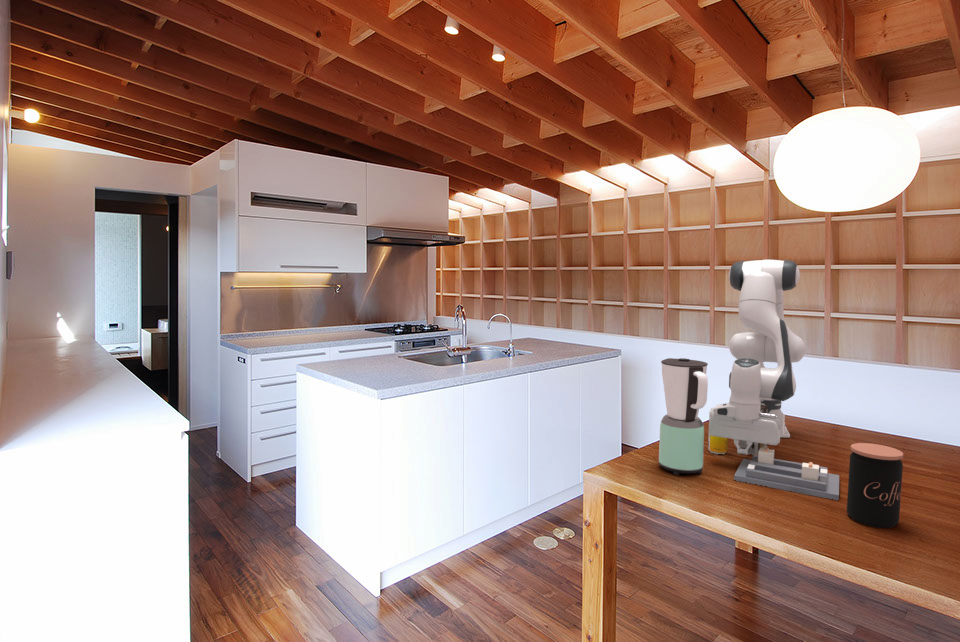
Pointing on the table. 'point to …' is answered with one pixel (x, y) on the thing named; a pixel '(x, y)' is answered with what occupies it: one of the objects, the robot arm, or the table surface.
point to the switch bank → (788, 477)
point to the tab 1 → (766, 456)
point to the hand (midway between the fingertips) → (742, 453)
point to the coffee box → (755, 446)
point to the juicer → (683, 415)
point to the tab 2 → (810, 471)
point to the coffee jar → (874, 485)
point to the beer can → (716, 441)
